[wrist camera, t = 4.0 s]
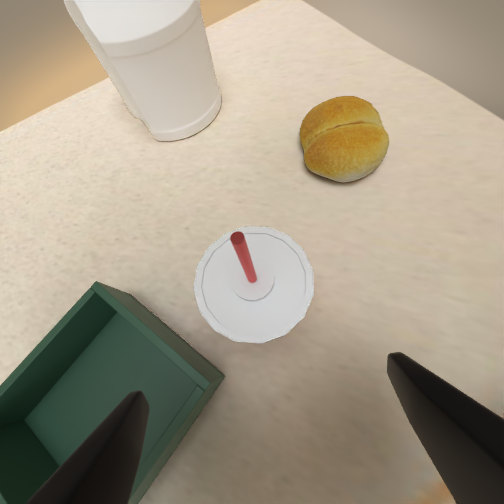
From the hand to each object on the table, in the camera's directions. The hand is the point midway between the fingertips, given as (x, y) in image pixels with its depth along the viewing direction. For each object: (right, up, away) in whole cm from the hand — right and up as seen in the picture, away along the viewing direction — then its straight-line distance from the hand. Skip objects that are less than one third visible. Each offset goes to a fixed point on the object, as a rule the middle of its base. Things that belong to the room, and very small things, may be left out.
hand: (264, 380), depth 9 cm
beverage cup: (+1, 0, +12) cm, 12 cm away
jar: (-10, +23, +22) cm, 33 cm away
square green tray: (-11, -7, +10) cm, 16 cm away
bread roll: (+9, +15, +17) cm, 25 cm away
